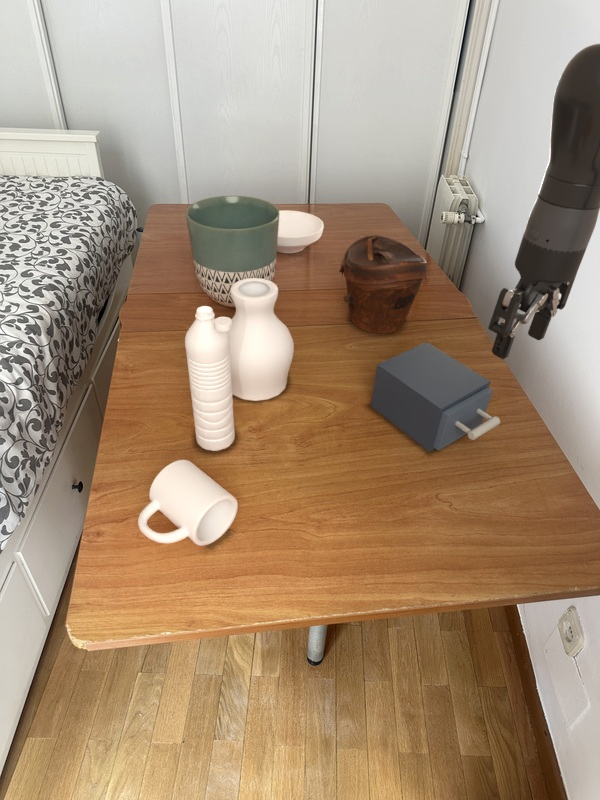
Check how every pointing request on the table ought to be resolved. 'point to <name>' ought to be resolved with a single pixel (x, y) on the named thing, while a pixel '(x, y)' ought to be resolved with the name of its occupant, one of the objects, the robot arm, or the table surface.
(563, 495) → the table surface
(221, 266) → the planter
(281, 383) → the vase
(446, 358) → the cabinet
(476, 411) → the drawer
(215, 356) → the water bottle
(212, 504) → the mug
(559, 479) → the table surface
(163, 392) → the table surface
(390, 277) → the case
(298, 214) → the bowl
